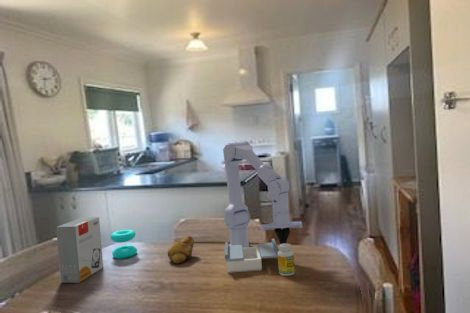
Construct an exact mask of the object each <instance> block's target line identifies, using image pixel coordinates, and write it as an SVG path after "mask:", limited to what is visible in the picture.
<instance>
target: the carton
mask: <svg viewBox="0 0 470 313" xmlns="http://www.w3.org/2000/svg"><path fill="white" fill-rule="evenodd" d="M242 251H243V260H236V261H226V260H225V263H226V273H227V274H231V273H232V274H233V273H244V272H245V273H246V272H256V271H257V272H258V271H263V265H262V264H263V263H262V258H261V254H260V250H259V246H258V245H257V246H249V247H243V248H242Z"/></svg>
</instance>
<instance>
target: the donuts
mask: <svg viewBox="0 0 470 313" xmlns="http://www.w3.org/2000/svg"><path fill="white" fill-rule="evenodd" d="M135 237H136V232H135V231H134V230H133V229H120V230H115V231H113V233H111V235H110V240H111V241H112V242H114V243H126V242H129V241H132V240H133V239H134V238H135ZM137 252H138V249H137V247H136V246H135V245H131V244H124V245H120V246H117V247H115V248H114V249H113V250H112V253H111V255H112V257H113V258H115V259H119V260H121V259H128V258H131V257H134V256H135V255H136V254H137Z"/></svg>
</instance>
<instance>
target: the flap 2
mask: <svg viewBox="0 0 470 313" xmlns="http://www.w3.org/2000/svg"><path fill="white" fill-rule="evenodd" d="M257 244H258V245H257V246H258V248H259V252H260V256H261V259H273V258H275V259H276V258H278V251H280V250H279V245H277V242H276V240H275V238H271V242H260V243H258V242H257Z"/></svg>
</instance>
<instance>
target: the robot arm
mask: <svg viewBox="0 0 470 313" xmlns="http://www.w3.org/2000/svg"><path fill="white" fill-rule="evenodd" d="M222 153H223V159H224V160H223V161H224V167H225V168H224V169H225V176H226V177H225V178H226V185H227V193H228V194H227V195H228V203H229V205H227V207H226V208H225V209H224V224H225V226H226V227H227V229H229V242H230V243H229V246H232V245H242V248H243V247H250V244H249V240H248V237H249V236H248V228H247V227H248V226H249V223H250V221H251V214H250V212H249V207H248V206H247V205H246V204H244V202H243V195H242V194H243V193H242V184H241V177H240V169H239V165H240V163H242V162H243V160H245V161H246V162H247V163H248V164H250V166H252V167H253V168H254V169H255V171H257V176H258V177H259V178H260V180H262V182H263V183H264V184H265V185H266V186H267V191H268V192H269V195H270V199H271V203H272V216H273V217H272V218H273V220H272V221H273V222H270V223H264V224H263V223H262V224H261V225H260V226H261V231H262V232H263V231H264V232H265V231H271V230H272V231H273V230H274V232H275V234H276V236H277V238H278V242H279V245H280V244H283V243H287V242H288V238H289V236H290V233H291V230H290V229H297V228H298V229H303V222H302V221H290V209H289V192H290V191H291V187H292V186H291V184H292V183H291V182H290V180H289V179H288V177H286V176H284V177H283V176H282V175H280V174H278V173H277V171H276V170H275V169H273V166H272V165H271V164H264V162H263V161H262V160H261V159H260V158H259V156H258V155H257V154H256V153H255V152H254V150H253V145H251V144H250V143H249V142H248V141H245V140H243V141H240V142H227V143H226V144H225V145H224V147H223V149H222Z"/></svg>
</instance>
